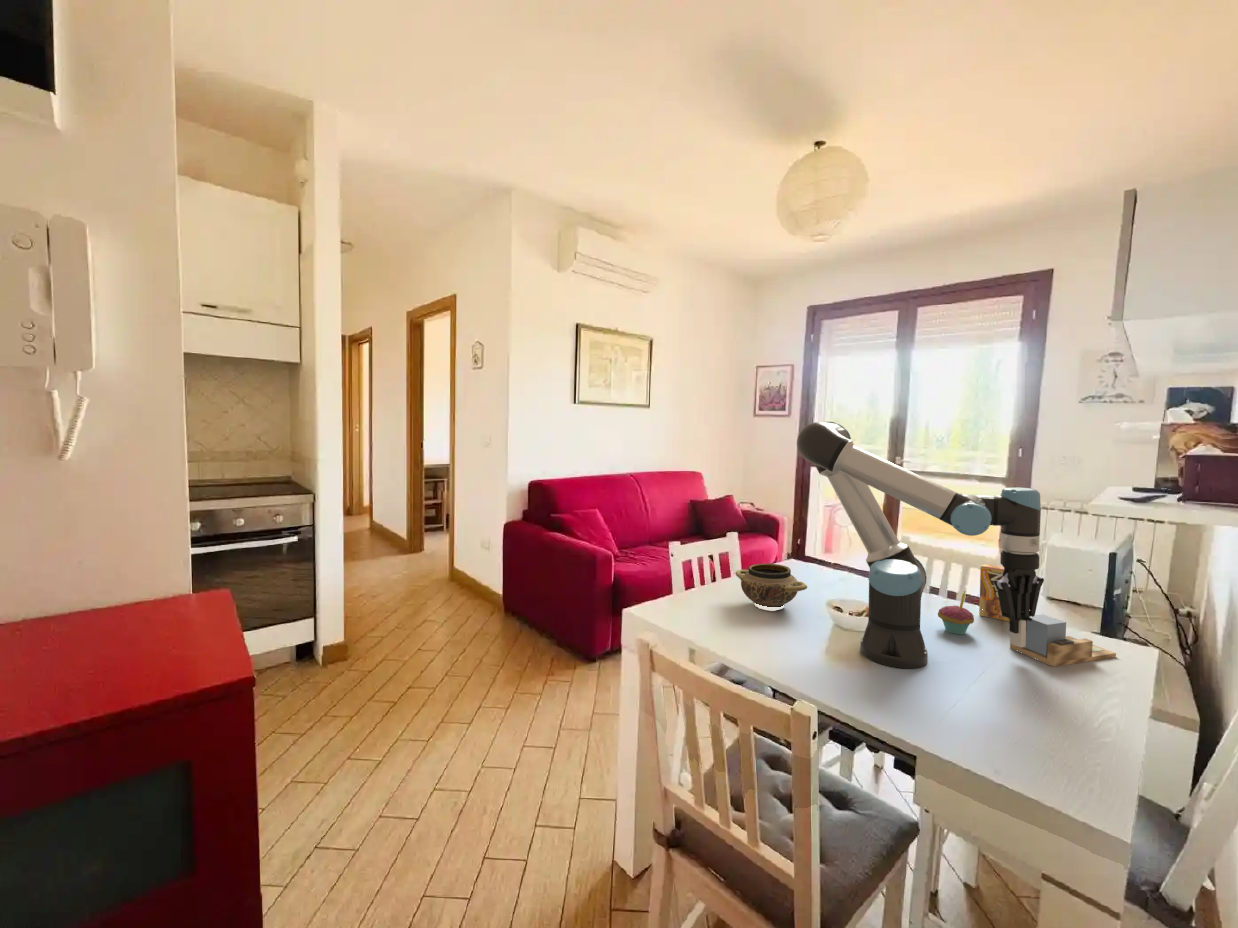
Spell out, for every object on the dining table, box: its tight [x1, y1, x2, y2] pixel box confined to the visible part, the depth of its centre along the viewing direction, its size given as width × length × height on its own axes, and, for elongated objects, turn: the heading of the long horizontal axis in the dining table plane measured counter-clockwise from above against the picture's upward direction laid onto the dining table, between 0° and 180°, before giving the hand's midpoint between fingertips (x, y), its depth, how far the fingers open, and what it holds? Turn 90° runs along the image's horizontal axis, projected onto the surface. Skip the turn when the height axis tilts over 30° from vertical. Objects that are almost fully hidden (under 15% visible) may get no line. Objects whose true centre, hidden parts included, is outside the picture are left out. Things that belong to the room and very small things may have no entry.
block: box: [1024, 613, 1067, 656], centre depth 128 cm, size 6×6×8 cm
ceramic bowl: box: [735, 563, 808, 607], centre depth 165 cm, size 24×18×15 cm
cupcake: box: [937, 590, 975, 635], centre depth 144 cm, size 9×8×12 cm
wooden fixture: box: [1009, 635, 1117, 668], centre depth 130 cm, size 20×11×6 cm, turn 103°
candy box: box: [978, 563, 1009, 622], centre depth 153 cm, size 9×4×15 cm, turn 44°
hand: (1017, 644), depth 126 cm, fingers closed
